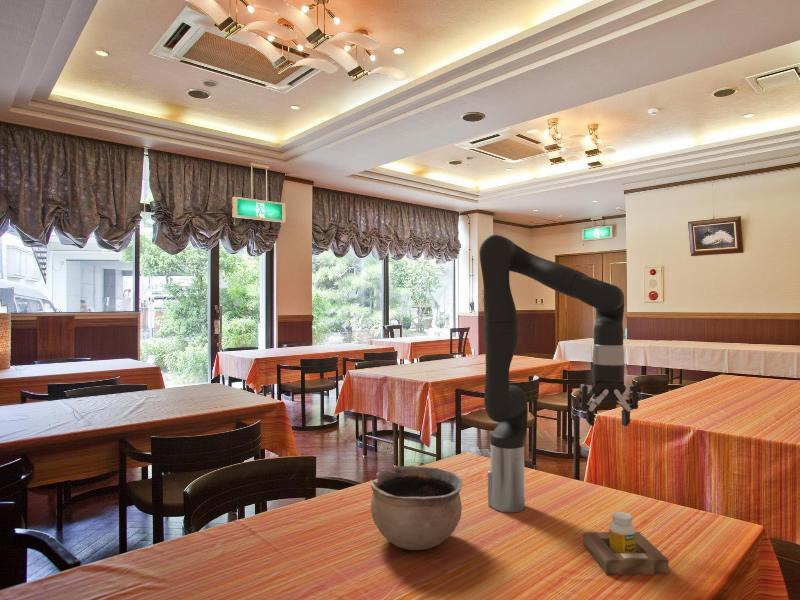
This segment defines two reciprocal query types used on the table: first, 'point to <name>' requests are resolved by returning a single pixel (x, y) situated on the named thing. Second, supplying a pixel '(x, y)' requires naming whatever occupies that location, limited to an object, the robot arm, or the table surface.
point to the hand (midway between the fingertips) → (608, 425)
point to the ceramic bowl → (416, 505)
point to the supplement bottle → (622, 533)
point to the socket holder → (625, 556)
